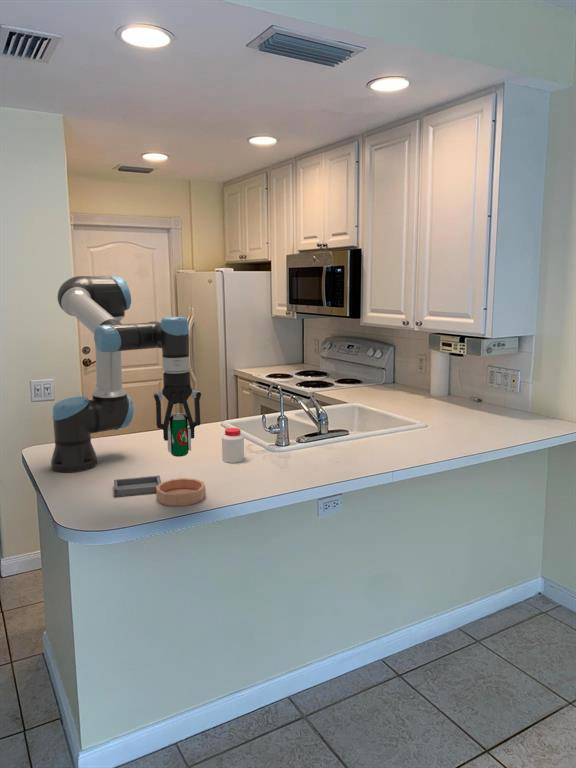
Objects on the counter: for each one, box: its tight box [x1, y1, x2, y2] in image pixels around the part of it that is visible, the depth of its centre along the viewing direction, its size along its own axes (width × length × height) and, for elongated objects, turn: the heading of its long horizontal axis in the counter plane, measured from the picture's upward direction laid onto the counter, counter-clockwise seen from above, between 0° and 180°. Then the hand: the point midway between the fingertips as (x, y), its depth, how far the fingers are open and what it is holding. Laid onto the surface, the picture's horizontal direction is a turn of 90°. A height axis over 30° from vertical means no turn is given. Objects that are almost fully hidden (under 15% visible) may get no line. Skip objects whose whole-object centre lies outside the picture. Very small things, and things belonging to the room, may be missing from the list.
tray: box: [113, 475, 162, 498], centre depth 183 cm, size 14×10×2 cm
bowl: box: [155, 477, 207, 507], centre depth 176 cm, size 14×14×3 cm
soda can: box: [169, 412, 189, 458], centre depth 173 cm, size 5×5×12 cm
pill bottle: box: [221, 427, 245, 464], centre depth 212 cm, size 8×8×11 cm
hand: (179, 450), depth 174 cm, fingers closed on soda can, 5 cm apart
